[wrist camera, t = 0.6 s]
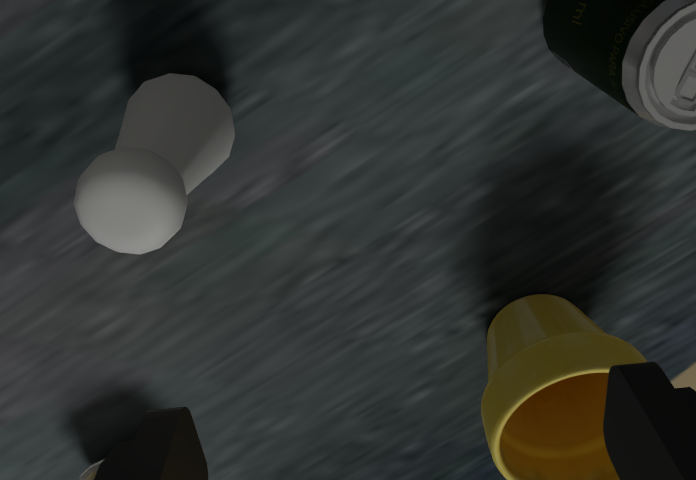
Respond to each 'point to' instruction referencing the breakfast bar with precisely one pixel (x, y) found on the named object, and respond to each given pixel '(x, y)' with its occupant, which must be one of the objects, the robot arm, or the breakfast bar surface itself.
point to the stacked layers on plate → (90, 472)
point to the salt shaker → (155, 163)
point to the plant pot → (549, 390)
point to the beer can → (631, 53)
